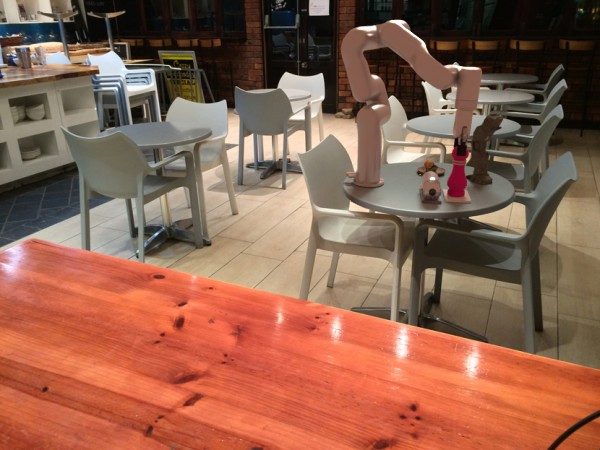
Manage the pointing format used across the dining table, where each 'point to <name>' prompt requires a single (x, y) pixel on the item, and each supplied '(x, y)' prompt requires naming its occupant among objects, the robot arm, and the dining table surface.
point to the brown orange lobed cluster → (430, 168)
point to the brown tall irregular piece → (483, 148)
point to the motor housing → (430, 188)
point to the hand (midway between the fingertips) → (459, 152)
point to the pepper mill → (457, 175)
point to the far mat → (456, 199)
